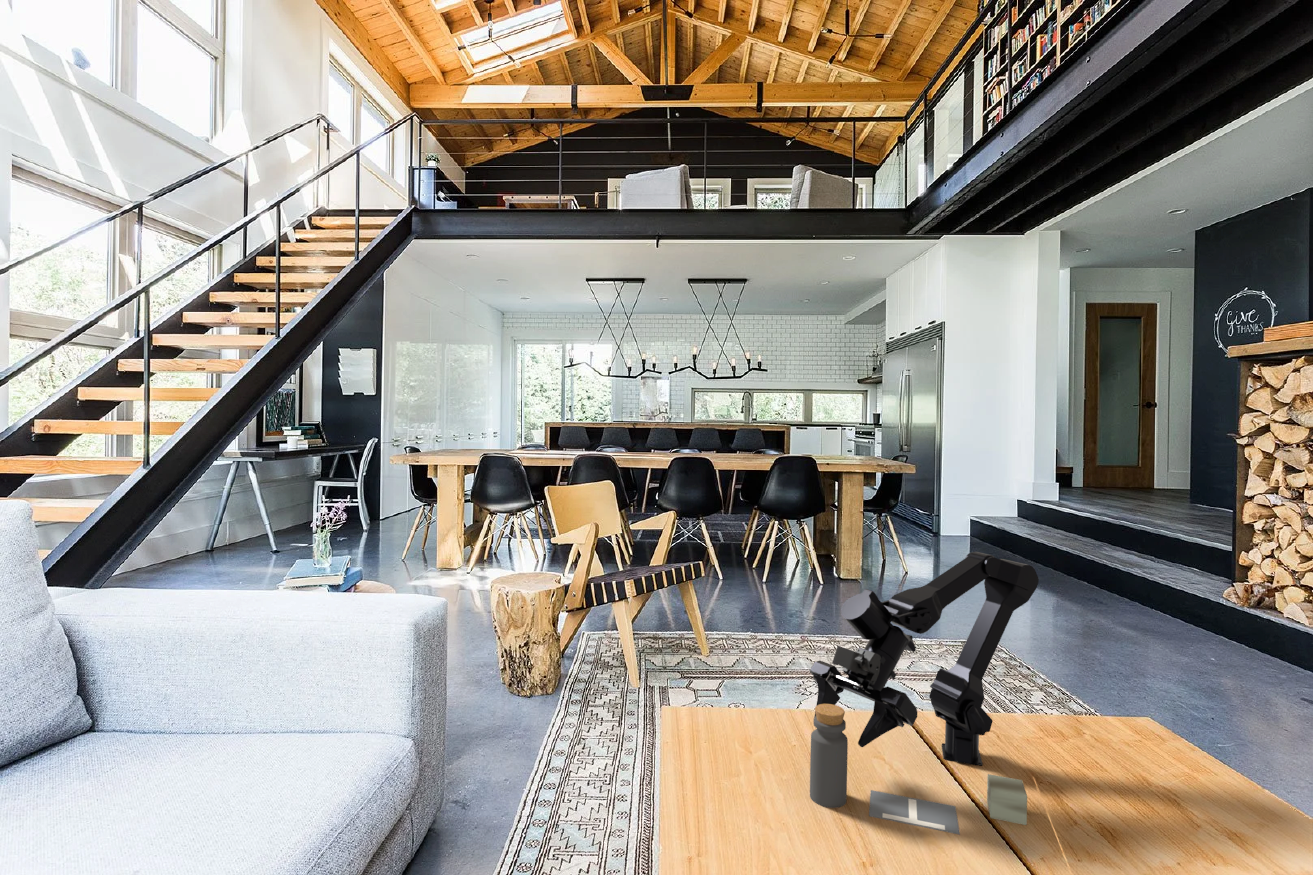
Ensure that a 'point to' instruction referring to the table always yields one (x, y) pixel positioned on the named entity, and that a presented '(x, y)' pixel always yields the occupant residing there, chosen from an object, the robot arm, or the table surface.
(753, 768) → the table surface
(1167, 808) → the table surface
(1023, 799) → the green block
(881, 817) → the letter tile
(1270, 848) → the table surface
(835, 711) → the bottle
